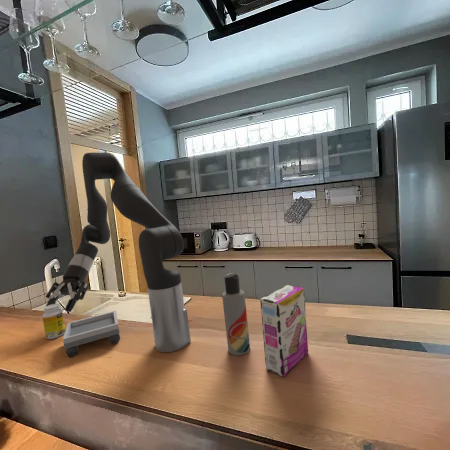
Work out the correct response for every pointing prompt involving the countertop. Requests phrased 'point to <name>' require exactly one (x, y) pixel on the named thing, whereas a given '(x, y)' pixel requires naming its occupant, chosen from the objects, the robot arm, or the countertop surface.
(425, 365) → the countertop surface
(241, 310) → the lotion bottle
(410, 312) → the countertop surface
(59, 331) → the supplement bottle
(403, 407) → the countertop surface
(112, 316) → the square grey tray
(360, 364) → the countertop surface
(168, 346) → the robot arm
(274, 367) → the candy bar box
